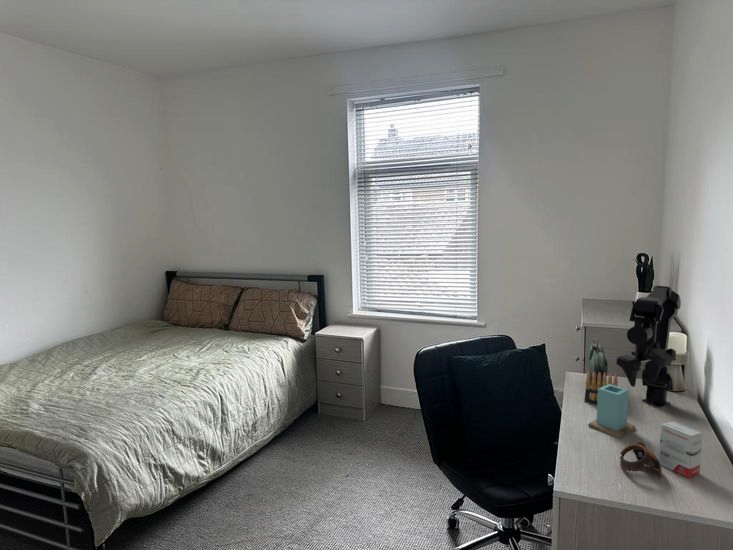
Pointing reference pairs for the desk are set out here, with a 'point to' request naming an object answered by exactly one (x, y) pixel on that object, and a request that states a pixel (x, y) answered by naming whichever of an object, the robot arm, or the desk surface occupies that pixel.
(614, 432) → the peg plate
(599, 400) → the teal square planter
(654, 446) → the desk surface
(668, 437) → the ink box
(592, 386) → the ammunition clip
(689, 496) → the desk surface
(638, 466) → the brown ridged hollow part
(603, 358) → the green lumpy upright piece
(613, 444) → the desk surface
